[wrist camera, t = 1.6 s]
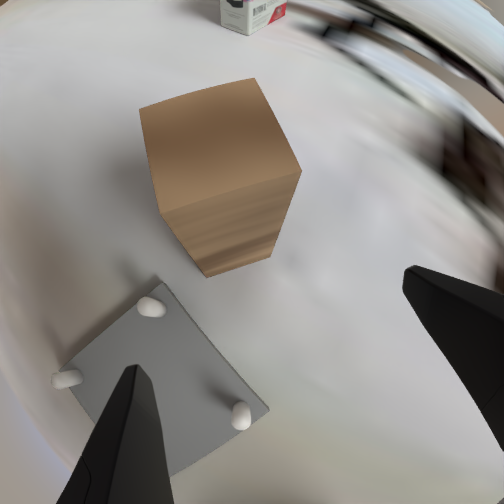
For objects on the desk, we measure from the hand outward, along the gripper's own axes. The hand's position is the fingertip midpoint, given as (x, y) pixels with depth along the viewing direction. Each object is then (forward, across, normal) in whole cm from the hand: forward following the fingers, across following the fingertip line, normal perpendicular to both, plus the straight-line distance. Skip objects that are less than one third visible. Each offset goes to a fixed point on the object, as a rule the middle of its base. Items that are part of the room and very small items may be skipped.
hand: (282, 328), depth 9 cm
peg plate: (+7, +9, +11) cm, 16 cm away
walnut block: (+14, 0, +4) cm, 15 cm away
